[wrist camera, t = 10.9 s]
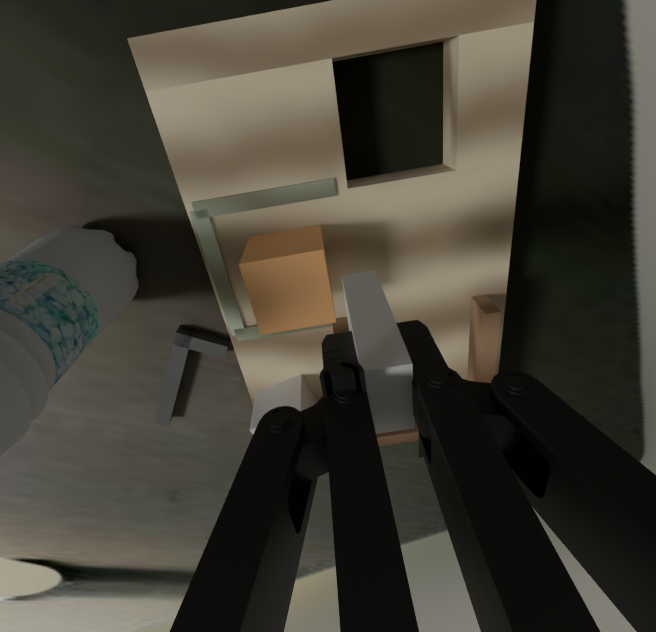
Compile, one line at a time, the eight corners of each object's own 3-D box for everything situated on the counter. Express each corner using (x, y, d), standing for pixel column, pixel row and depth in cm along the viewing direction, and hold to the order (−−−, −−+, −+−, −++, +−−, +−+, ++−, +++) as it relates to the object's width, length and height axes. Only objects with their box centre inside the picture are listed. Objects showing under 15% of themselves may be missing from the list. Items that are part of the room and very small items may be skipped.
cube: (249, 236, 23) (238, 264, 20) (320, 224, 23) (323, 249, 19) (267, 299, 26) (260, 334, 22) (331, 288, 26) (336, 322, 22)
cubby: (331, 318, 27) (334, 338, 25) (485, 294, 26) (501, 311, 24) (350, 426, 32) (353, 449, 30) (477, 407, 32) (489, 429, 30)
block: (255, 391, 30) (249, 430, 26) (301, 374, 29) (300, 411, 26) (279, 423, 32) (276, 463, 28) (322, 408, 31) (324, 447, 28)
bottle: (61, 196, 24) (-560, 445, 7) (163, 247, 26) (-113, 539, 9) (39, 278, 27) (-446, 606, 9) (133, 318, 29) (-124, 649, 12)
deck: (146, 44, 20) (125, 37, 18) (514, -24, 20) (542, -40, 17) (267, 417, 35) (264, 440, 32) (483, 385, 34) (496, 406, 32)
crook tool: (180, 324, 29) (175, 332, 28) (230, 338, 30) (227, 347, 29) (159, 412, 34) (154, 422, 33) (203, 422, 35) (200, 432, 34)
